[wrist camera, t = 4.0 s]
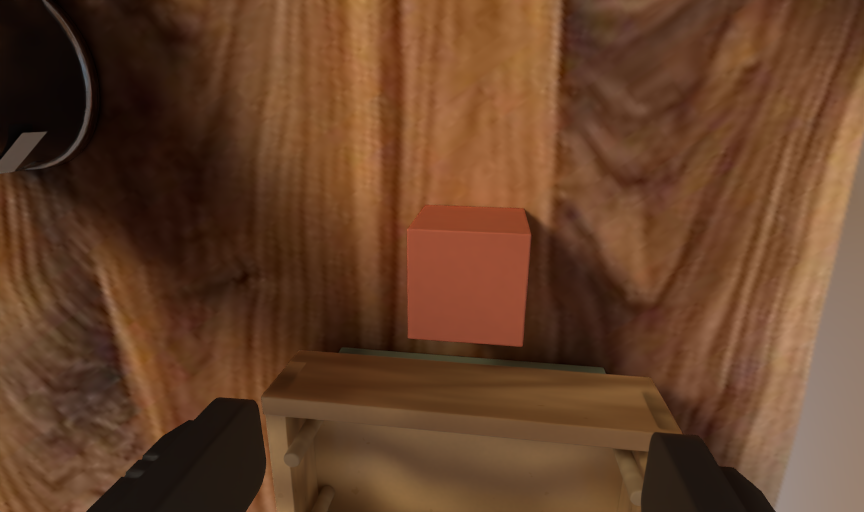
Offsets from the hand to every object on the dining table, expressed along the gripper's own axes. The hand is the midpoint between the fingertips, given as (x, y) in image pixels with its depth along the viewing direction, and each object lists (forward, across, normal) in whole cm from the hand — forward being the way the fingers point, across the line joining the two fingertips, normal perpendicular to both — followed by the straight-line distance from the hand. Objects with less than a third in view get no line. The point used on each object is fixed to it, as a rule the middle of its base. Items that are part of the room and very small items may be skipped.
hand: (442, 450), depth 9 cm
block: (+15, 0, +1) cm, 15 cm away
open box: (+14, 0, +12) cm, 18 cm away
